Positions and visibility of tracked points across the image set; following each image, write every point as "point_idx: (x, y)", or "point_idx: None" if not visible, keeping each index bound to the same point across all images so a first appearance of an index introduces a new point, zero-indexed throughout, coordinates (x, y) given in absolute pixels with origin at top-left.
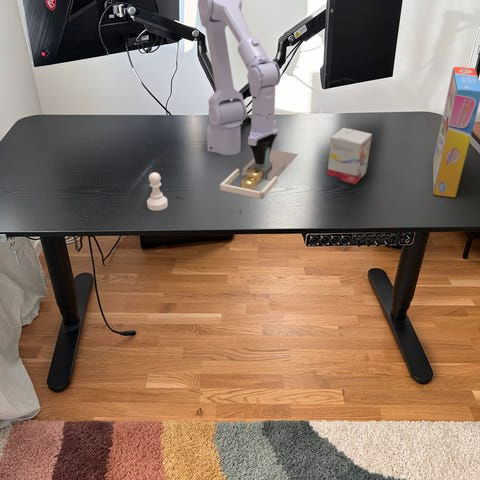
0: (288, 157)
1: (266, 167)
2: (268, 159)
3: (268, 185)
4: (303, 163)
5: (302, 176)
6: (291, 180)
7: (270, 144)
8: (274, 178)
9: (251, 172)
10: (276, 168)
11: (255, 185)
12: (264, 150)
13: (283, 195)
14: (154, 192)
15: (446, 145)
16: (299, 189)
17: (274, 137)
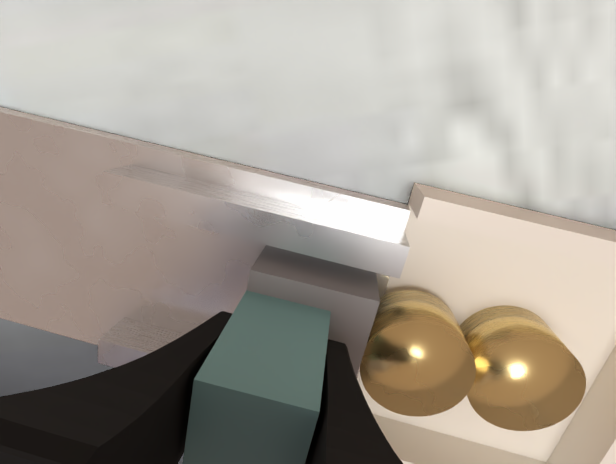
0: (24, 162)
1: (336, 302)
2: (258, 314)
3: (593, 247)
4: (40, 46)
5: (241, 19)
6: (322, 94)
7: (169, 394)
8: (461, 217)
9: (430, 390)
10: (294, 224)
11: (542, 328)
12: (400, 460)
13: (571, 118)
14: None
15: None
16: (462, 6)
17: (107, 442)
